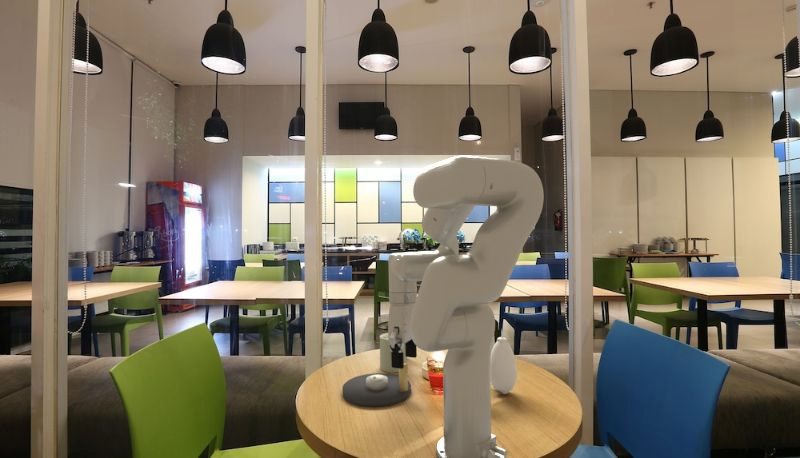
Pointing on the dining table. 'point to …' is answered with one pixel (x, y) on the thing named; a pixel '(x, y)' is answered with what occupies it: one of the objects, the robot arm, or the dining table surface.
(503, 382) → the sauce bottle
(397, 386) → the wheel
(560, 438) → the dining table surface
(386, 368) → the can
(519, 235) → the robot arm
